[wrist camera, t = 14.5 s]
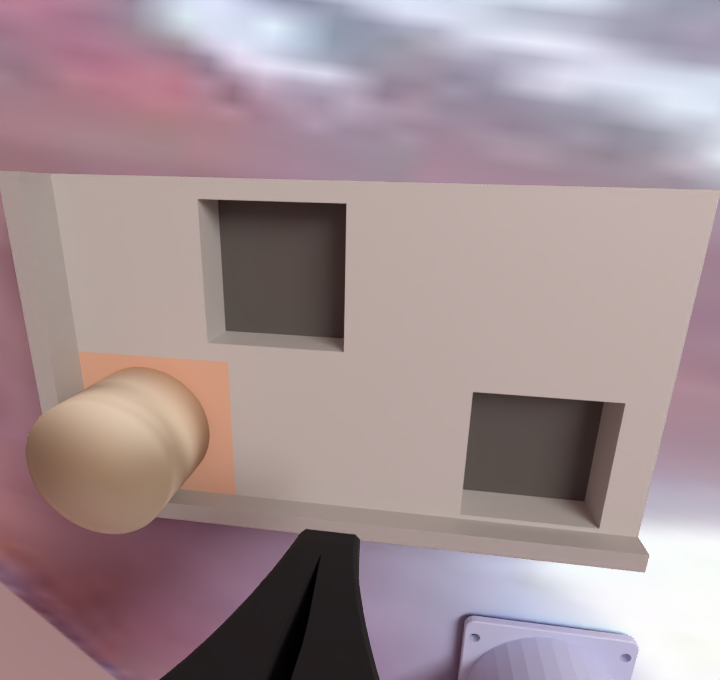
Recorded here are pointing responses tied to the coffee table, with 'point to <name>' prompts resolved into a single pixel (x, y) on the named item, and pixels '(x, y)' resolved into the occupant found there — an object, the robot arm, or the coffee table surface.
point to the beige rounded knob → (118, 449)
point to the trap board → (381, 345)
